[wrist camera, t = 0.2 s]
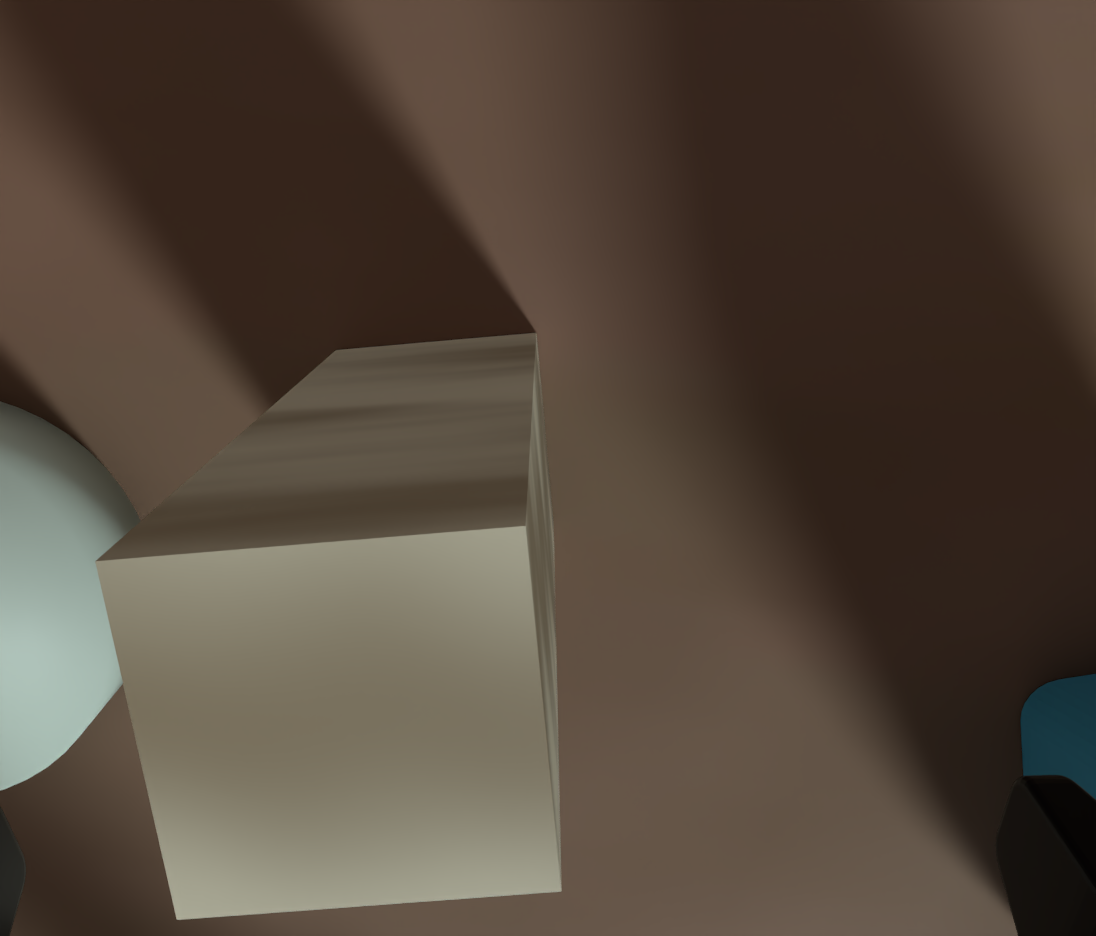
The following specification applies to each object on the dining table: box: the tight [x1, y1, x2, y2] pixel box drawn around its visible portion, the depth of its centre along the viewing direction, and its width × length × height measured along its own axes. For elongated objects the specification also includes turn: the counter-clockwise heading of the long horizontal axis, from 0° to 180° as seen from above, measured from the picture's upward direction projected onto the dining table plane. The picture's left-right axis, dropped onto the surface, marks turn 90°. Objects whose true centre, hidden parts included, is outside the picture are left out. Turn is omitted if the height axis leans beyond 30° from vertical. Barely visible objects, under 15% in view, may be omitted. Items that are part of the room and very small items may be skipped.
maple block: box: [95, 333, 561, 920], centre depth 18 cm, size 5×5×13 cm
